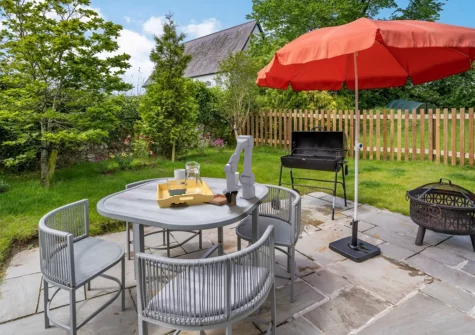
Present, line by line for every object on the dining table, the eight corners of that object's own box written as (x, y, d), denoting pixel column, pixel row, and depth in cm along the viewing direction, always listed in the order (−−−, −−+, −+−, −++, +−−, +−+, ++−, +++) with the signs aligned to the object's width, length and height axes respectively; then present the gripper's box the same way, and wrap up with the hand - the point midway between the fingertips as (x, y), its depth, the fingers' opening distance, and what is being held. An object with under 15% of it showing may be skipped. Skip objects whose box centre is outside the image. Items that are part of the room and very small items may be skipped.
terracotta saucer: (218, 196, 216) (218, 193, 216) (234, 200, 207) (234, 196, 207) (203, 201, 205) (203, 198, 204) (219, 205, 196) (219, 201, 195)
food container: (168, 205, 198) (167, 190, 197) (169, 202, 204) (168, 188, 203) (187, 204, 201) (186, 189, 199) (187, 201, 207) (186, 187, 205)
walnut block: (230, 203, 199) (230, 193, 198) (236, 204, 196) (236, 194, 195) (226, 204, 196) (226, 194, 195) (232, 206, 193) (232, 195, 192)
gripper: (228, 185, 186) (228, 206, 188) (242, 180, 197) (243, 200, 199) (219, 183, 190) (220, 204, 192) (234, 179, 201) (234, 199, 204)
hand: (231, 202), depth 196 cm, fingers closed on walnut block, 4 cm apart
